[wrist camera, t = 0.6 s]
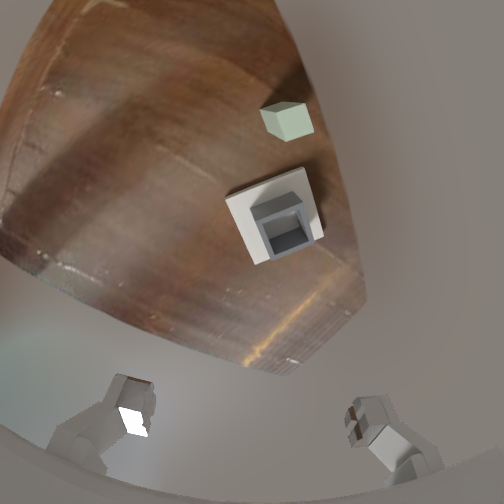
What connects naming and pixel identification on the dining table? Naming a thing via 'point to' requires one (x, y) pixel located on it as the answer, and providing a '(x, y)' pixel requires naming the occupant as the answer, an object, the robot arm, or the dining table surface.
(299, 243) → the well stand
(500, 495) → the robot arm
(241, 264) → the dining table surface
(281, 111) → the sage block
